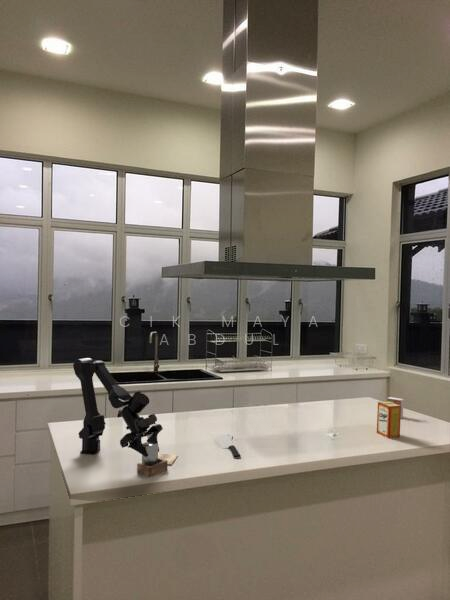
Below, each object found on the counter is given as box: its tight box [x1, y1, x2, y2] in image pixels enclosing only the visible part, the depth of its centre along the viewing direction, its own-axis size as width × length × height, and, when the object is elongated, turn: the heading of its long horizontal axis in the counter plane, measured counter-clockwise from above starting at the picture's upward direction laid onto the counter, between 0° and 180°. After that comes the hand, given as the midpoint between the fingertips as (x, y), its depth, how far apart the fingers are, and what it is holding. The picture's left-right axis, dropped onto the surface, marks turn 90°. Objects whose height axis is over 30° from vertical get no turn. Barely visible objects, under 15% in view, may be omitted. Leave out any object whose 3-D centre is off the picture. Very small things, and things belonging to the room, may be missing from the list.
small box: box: [386, 396, 405, 419], centre depth 281 cm, size 8×6×10 cm
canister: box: [141, 441, 159, 466], centre depth 188 cm, size 6×6×10 cm
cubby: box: [136, 458, 168, 478], centre depth 187 cm, size 7×10×4 cm
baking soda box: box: [376, 400, 402, 439], centre depth 244 cm, size 10×6×16 cm
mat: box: [158, 452, 178, 467], centre depth 200 cm, size 12×11×1 cm
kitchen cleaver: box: [214, 433, 242, 459], centre depth 219 cm, size 31×2×10 cm
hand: (152, 454), depth 187 cm, fingers closed on canister, 6 cm apart
